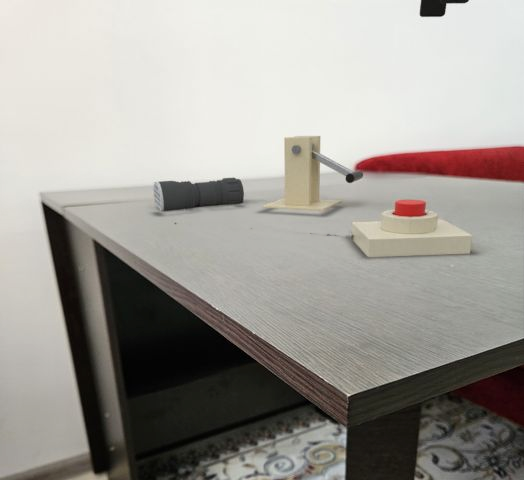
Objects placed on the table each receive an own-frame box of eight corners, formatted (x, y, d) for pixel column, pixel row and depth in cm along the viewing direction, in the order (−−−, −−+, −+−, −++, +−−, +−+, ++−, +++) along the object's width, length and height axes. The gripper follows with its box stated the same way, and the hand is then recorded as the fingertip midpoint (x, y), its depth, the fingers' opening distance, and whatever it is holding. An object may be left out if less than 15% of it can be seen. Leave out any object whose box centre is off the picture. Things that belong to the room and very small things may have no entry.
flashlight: (236, 204, 98) (235, 174, 96) (247, 208, 93) (246, 177, 91) (155, 212, 92) (151, 180, 90) (162, 217, 88) (159, 183, 86)
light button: (419, 213, 65) (420, 198, 65) (428, 218, 62) (430, 203, 61) (390, 214, 65) (391, 199, 65) (398, 219, 62) (399, 204, 61)
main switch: (359, 183, 87) (366, 169, 85) (350, 187, 83) (357, 173, 81) (298, 150, 89) (304, 136, 88) (286, 152, 85) (292, 138, 84)
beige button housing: (440, 235, 70) (443, 205, 68) (470, 254, 61) (474, 219, 59) (351, 238, 70) (352, 208, 68) (367, 258, 61) (370, 223, 59)
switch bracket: (341, 207, 92) (343, 134, 87) (323, 216, 84) (325, 138, 80) (283, 204, 96) (283, 135, 91) (262, 212, 89) (260, 138, 84)
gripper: (535, -223, 48) (500, -4, 56) (474, -143, 64) (452, 20, 71) (454, -222, 49) (429, -3, 56) (412, -142, 64) (397, 20, 72)
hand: (442, 10), depth 64 cm, fingers open, 9 cm apart
